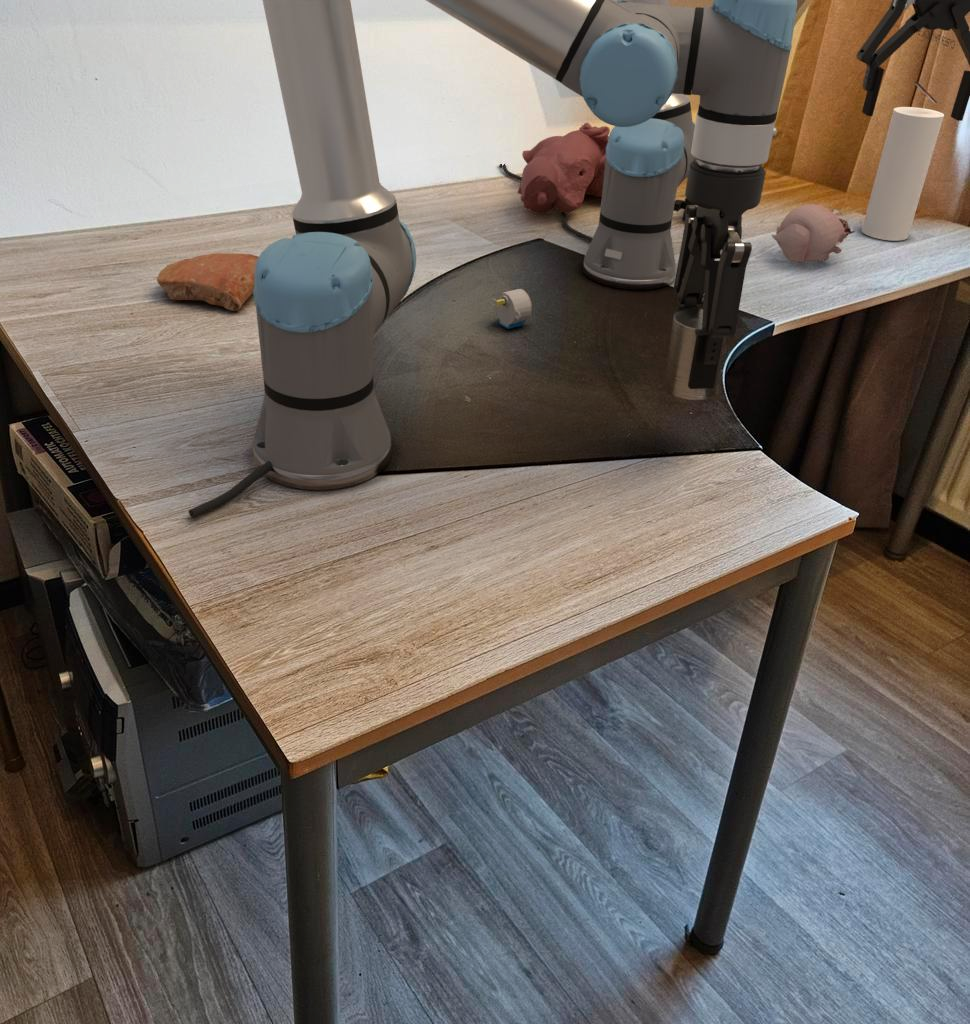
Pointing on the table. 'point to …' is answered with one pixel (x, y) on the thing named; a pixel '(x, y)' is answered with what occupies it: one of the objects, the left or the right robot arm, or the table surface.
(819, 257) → the toy
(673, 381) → the tin
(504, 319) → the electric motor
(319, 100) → the left robot arm
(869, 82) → the right robot arm
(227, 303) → the ceramic shard
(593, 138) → the pink toy pig
